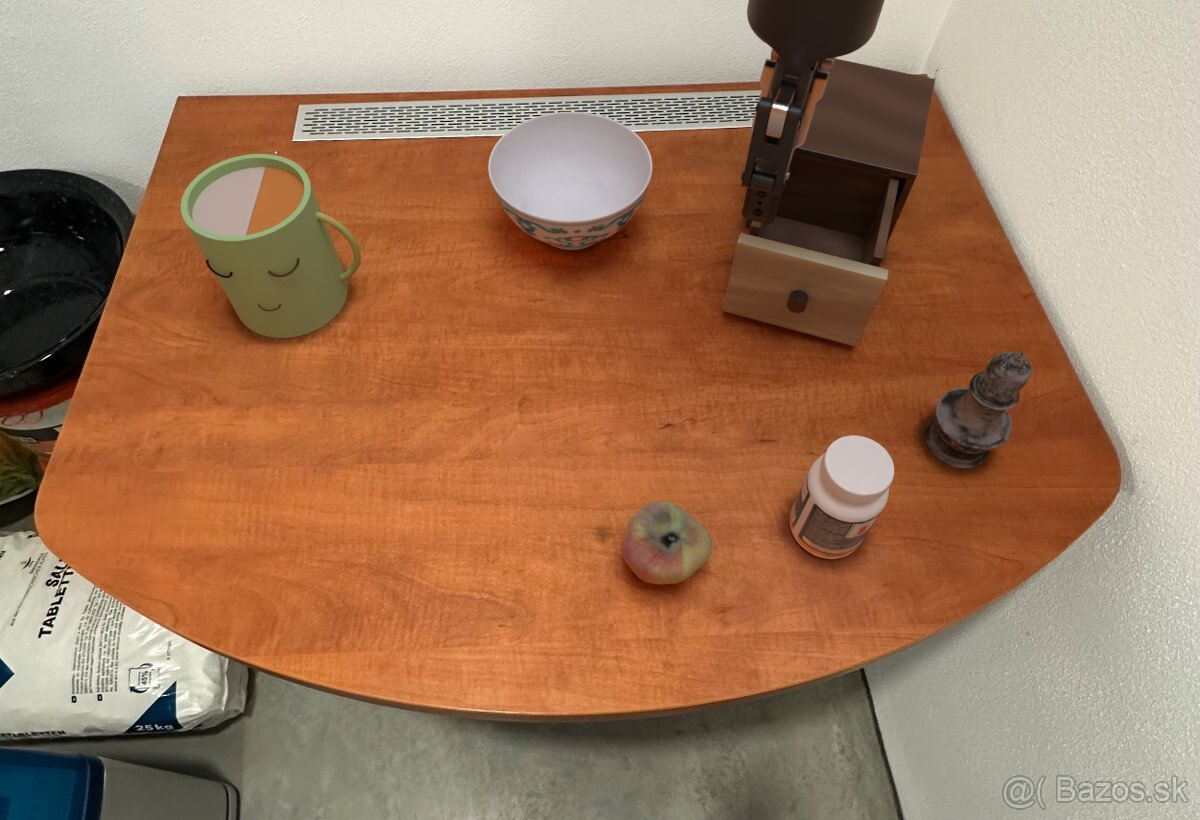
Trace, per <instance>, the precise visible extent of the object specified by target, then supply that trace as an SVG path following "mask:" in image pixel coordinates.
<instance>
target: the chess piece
mask: <svg viewBox="0 0 1200 820" xmlns="http://www.w3.org/2000/svg"><path fill="white" fill-rule="evenodd" d="M1032 373H1033V368H1032V365H1031V363H1030V361H1029V360H1028V359H1027V358H1026V356H1025V354H1024V353H1023V352H1015V351H1002V352H999V353H997V354H995V355H994V356H993V357H992V358H991V360H989V362H988V364H987V365H986V366H985V368H984V370H983V371H980V372H977V373H976V374H974V375H973V376H972V377H971V378H970V380H969V383H968V385H969V387H965V386H964V387H955V388H953V389H949V390H948V391H946V392H944V393H943V394H942V395H941V396H940V397H939V399H938V400H937V403H936V406H935V416H934V417H933V418H931V419H930V420H929V421H928V422H927V424H926V425H925V429H924V433H923V434H924V435H923V436H924V442H925V445H926V446H927V448H928V450H929V452H930V453H931V454H932V455H933V456H934V457H935V458H936V459H937V460H939V461H940V462H942V463H944V464H945V465H947V466H949V467H953V468H956V469H973V468H976V467H978V466H979V465H981V464H983V463H984V462H985V461H986V459H987V458H988V457H989V454H990V451H992V450H995V449H997V448H1000V447H1001V446H1002V445H1004V444H1006V442H1007V441H1008V440H1009V438H1010V437H1011V434H1012V431H1013V423H1012V419H1011V415H1010V413H1009V411H1008V410H1011V409H1013V408H1014V407H1015V406H1016V405H1017V404H1018V403H1019V401H1020V392H1021V391H1022V389H1023V388H1024V386H1026V384H1027V383H1028V382H1029V380H1030V379H1031V376H1032Z"/></svg>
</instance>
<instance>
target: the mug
mask: <svg viewBox="0 0 1200 820" xmlns="http://www.w3.org/2000/svg"><path fill="white" fill-rule="evenodd" d="M180 213H181V216H182V219H183V221H184V223H185V225H186V227H187V229H188V231H189V232H190V234H191V235H192V237H193V239H194V240H195V242H196V245H197V246H198V247H199V249H200V251H201V253H202V255H203V256H204V258H205V263H206V266H207V268H208V270H210V271H211V272H212V273H213V274H214V276H215V278H216V280H217V281H218V283H219V285H220V286H221V287H222V290H223V292H224V293H225V295H226V297H227V299H228V300H229V302H230V304H231V306H232V308H233V310H234V311H235V313H236V315H237V316H238V318H239V320H240V321H241V322H242V323H243V325H244V326H245V327H246V328H248V330H250V331H252V332H254V333H255V334H257V335H260V336H263V337H267V338H273V339H290V338H297V337H302V336H304V335H308V334H311V333H313V332H315V331H317V330H319V329H321V328H323V327H324V326H326V325H328V323H330V322H331V321H332V320H333V319H334V318H336V316H337V315H338V314H339V313H340V312H341V310H342V309H343V307H344V306H345V303H346V301H347V298H348V292H349V285H348V280H349V279H350V278H351V277H352V276H353V275H355V273H356V272H357V271H358V269H359V268H360V265H361V262H362V253H361V248H360V246H359V243H358V241H357V239H356V238H355V235H353V233H352V232H351V231H350V230H349V229H348V228H347V227H346V226H345V225H344V224H342V223H341V222H340V221H338V220H337V219H335V218H333V217H331V216H329V215H328V214H326V213H323V212H322V210H321V207H320V204H319V201H318V199H317V196H316V193H315V191H314V188H313V185H312V183H311V180H310V177H309V175H308V173H307V172H306V171H305V169H304V168H303V167H302V166H301V165H300V164H298V163H297V162H296V161H293V160H291V159H289V158H287V157H284V156H281V155H276V154H269V153H252V154H251V153H249V154H243V155H239V156H238V155H237V156H234V157H231V158H227V159H224V160H222V161H220V162H217V163H215V164H213V165H211V166H210V167H207V168H206V169H205V170H203V171H202V172H201V173H199V174H198V175H196V177H194V179H193V180H192V181H191V182H190V183H189V184H188V185H187V187H186V188H185V190H184V192H183V194H182V196H181V201H180ZM327 224H328V225H329V226H331V227H332V228H334V229H336V230H337V231H338V232H339V233H340V234H341V235H342V236H343V237H344V238H345V239H346V241H347V243H349V246H350V247H351V250H352V254H353V259H352V262H351V265H350V267H349V268H348V269H347V270H345V271H344V269H343V266H342V264H341V261H340V258H339V255H338V253H337V250H336V248H335V244H334V242H333V240H332V239H333V238H332V237H331V234H330V231H329V229H328V226H327Z"/></svg>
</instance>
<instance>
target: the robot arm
mask: <svg viewBox="0 0 1200 820" xmlns="http://www.w3.org/2000/svg"><path fill="white" fill-rule="evenodd" d="M885 1H886V0H748V2H747V8H746V18H747V22H748V25H749V27H750V29H751V30H752V32H753V33H754V34H755V36H757V38H758V39H760V40H761V41H762V42H763V43H765V44H766V45H767V46H769V47H770V48H771V51H770V58H766V59H765V62H764V65H763V68H762V71H761V74H760V79H759V86H760V91H761V92H760V95H759V98H758V101H757V102H756V105H755V110H754V111H755V112H754V116H753V119H752V124H751V127H750V133H751V138H750V143H749V147H748V153H747V158H746V162H745V167H744V170H743V171H742V173H741V176H740V180H741V187H743V188H746V192H745V197H744V201H743V206H742V211H741V215H742V217H743V218H744V219H746V220H747V219H748V220H752V221H756V222H760V223H764V224H771V223H772V222H773V221H774V218H775V215H776V212H777V208H778V204H779V200H780V197H781V193H782V190H784V188H785V185H786V182H785V181H786V180H788V179H789V175H790V172H788V171H789V168H790V164H791V161H792V158H793V154H794V151H795V149H797V148H799V147H802V146H803V145H804V144H805V142H806V139H807V135H808V132H809V128H810V125H811V122H812V118H813V115H814V112H815V108H816V105H817V103H818V102H819V101H821V99H822V98H823V96H824V92H825V89H826V86H827V82H828V79H829V75H830V74H831V72H832V69H833V66H834V62H835V59H837V58H839V57H843V56H846V55H849V54H852V53H854V52H856V51H858V50H860V49H861V48H862V47H864V46H865V45H867V43H868V42H870V40H871V38H872V37H873V36H874V34H875V31H876V29H877V26H878V23H879V20H880V17H881V13H882V10H883V8H884V3H885ZM771 161H772V162H771Z"/></svg>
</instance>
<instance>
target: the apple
mask: <svg viewBox="0 0 1200 820" xmlns="http://www.w3.org/2000/svg"><path fill="white" fill-rule="evenodd" d="M603 532H605V530H604V531H603ZM620 552H621V556H622V558H623V560H624V562H625V563H626V565H627V566H628V567H629V569H630V570H631V571H632V573H634V574H635V576H637V578H639V580H641V581H643V582H645V583H647V584H651V585H652V584H653V585H675V584H679V583H682V582H684V581H685V580H688V579H689V578H690V577H692V576H693V575H694V574H695V573H696V572H697V571H698V570H700V569H701V568H702V567H703V566H704V565H705V564H706V563H707V562H708V560H709V559H710V557H711V555H712V552H713V540H712V536H711V534H710V532H709V530H708V529H707V528H706V527H705V526H704V525H703V524H701V523H700V522H699V521H697V520H696V518H694V517H693V516H692V515H691V514H690V513H689V512H687V511H686V510H684V509H683V508H682V507H680V506H679V505H677V504H676V503H674V502H671V501H667V500H656V501H653V502H650V503H647V504H645V505H643V506H642V507H641V508H640V509H638V510H637V511H636V512H634V513H633V514H632V516H630V518H629V519H628V520H627V522H626V527H625V533H624V536H623V540H622V542H621V546H620Z"/></svg>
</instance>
